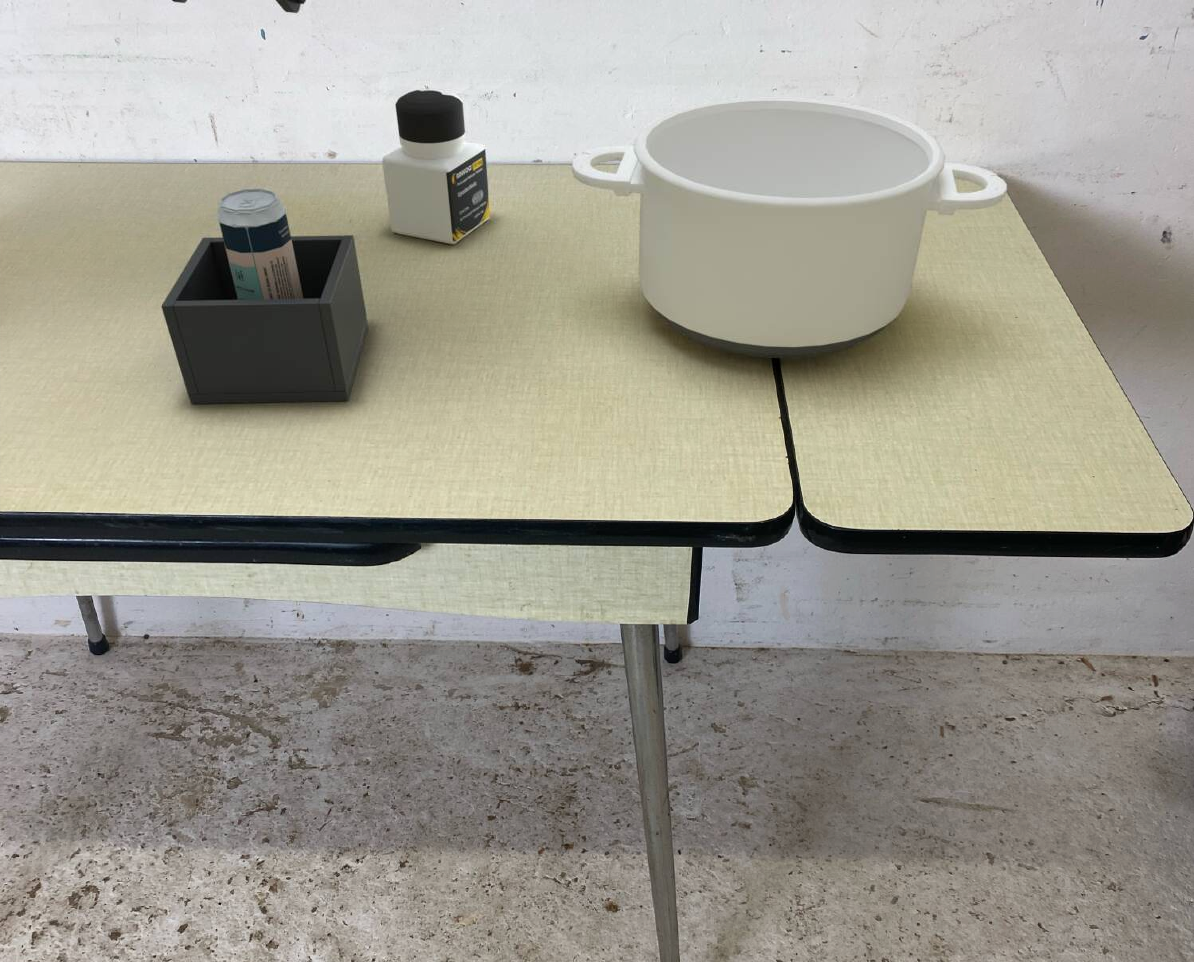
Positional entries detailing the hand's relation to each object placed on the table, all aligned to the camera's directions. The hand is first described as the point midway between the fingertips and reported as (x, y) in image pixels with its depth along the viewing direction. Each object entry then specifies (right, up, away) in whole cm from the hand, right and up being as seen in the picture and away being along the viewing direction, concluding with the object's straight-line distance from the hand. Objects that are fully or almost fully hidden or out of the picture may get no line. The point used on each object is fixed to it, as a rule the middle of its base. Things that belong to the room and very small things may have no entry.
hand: (226, 0), depth 67 cm
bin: (-1, -20, +15) cm, 25 cm away
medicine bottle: (+9, -2, +35) cm, 36 cm away
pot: (+38, -14, +22) cm, 46 cm away
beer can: (-1, -19, +15) cm, 24 cm away
